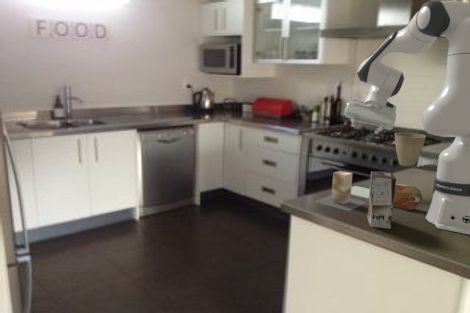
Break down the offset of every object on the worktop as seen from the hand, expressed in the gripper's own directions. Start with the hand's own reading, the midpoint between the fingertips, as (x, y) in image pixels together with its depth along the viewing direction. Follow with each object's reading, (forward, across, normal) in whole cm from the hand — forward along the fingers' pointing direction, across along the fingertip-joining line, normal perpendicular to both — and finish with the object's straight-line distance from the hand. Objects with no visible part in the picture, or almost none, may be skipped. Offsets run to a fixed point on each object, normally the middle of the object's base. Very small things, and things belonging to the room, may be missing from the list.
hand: (364, 129), depth 165 cm
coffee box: (+43, +16, -8) cm, 47 cm away
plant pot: (-31, +23, +53) cm, 66 cm away
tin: (+27, +21, +4) cm, 35 cm away
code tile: (+33, +2, +4) cm, 34 cm away
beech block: (+33, +2, +4) cm, 34 cm away
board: (+20, +8, +13) cm, 26 cm away
